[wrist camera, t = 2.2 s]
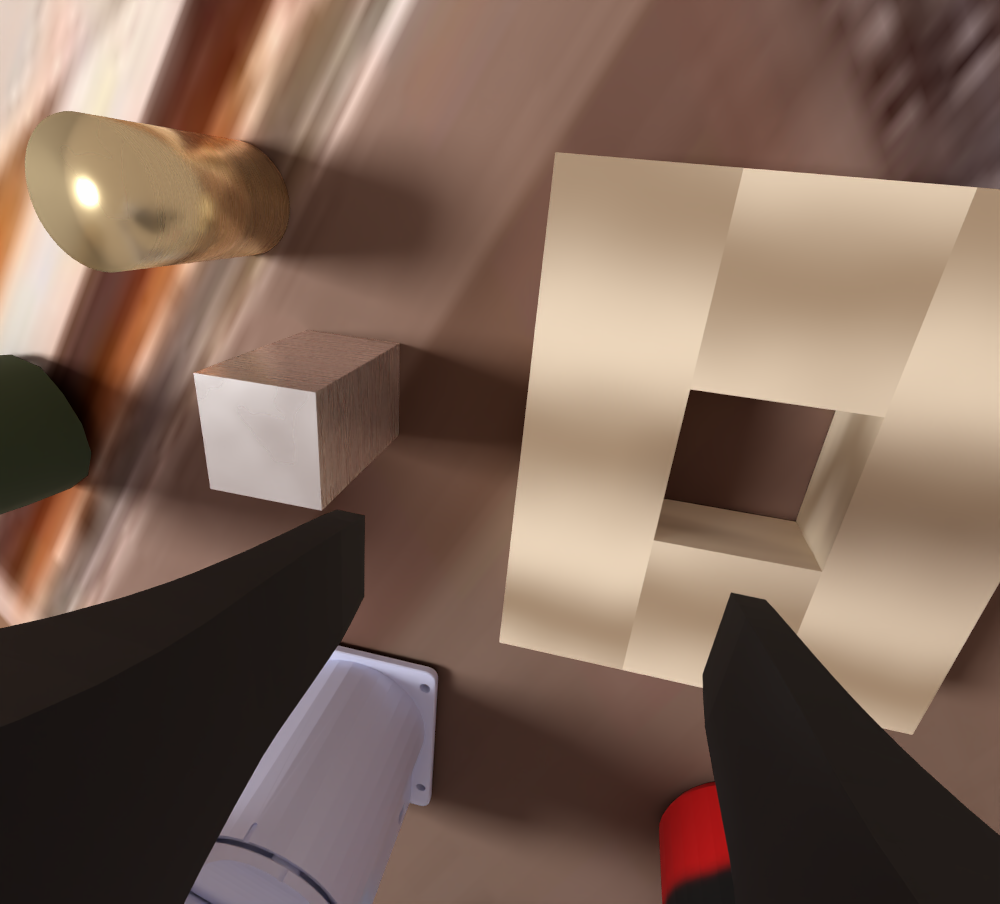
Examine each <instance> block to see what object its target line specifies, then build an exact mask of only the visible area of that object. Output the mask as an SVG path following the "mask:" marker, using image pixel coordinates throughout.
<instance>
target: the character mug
mask: <svg viewBox="0 0 1000 904" xmlns="http://www.w3.org/2000/svg"><path fill="white" fill-rule="evenodd" d="M90 459H91V450H90V447H89V444H88V441H87V438H86V435H85V432H84V429H83V426H82V423H81V422H80V420H79V419H78V417H77V415H76V414H75V412H74V411H73V409H72V407H71V406H70V404H69V403H68V401H67V400H66V398H65V396H64V395H63V393H62V392H61V391H60V390H59V388H58V387H57V386H56V385H55V384H54V383H53V381H52V380H51V379H50V378H49V377H48V375H47V374H46V373H45V372H44V371H43V369H42V368H41V367H39V366H37V365H34V364H32V363H30V362H27V361H25V360H23V359H20V358H18V357H16V356H13V355H0V514H3V513H6V512H9V511H12V510H15V509H18V508H21V507H24V506H26V505H29V504H32V503H34V502H37V501H39V500H42V499H44V498H47V497H49V496H52V495H55V494H57V493H60V492H62V491H65V490H67V489H70V488H72V487H73V486H74V485H76V484H77V483H78V482H80V481H81V480H82V479H84V478H85V477H86V476H88V471H89V465H90Z"/></svg>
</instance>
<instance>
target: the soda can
mask: <svg viewBox="0 0 1000 904" xmlns="http://www.w3.org/2000/svg"><path fill="white" fill-rule="evenodd" d="M659 843H660V864H661V885H662V904H735V894H734V886H733V879H732V873H731V866H730V859H729V854H728V848H727V843H726V838H725V832H724V827H723V822H722V816H721V811H720V806H719V800H718V795H717V790H716V785H715V782H710V783H706V784H702V785H699V786H696V787H694V788H692V789H690V790H688V791H686V792H684V793H683V794H681V795H680V796H679V797H678V798H677V799H675V800H674V801H673V802H672V803H671V804H670V805H669V807H668V808H667V809H666V811H665V812H664V814H663V815H662V818H661V821H660V824H659Z"/></svg>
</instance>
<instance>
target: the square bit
mask: <svg viewBox="0 0 1000 904" xmlns="http://www.w3.org/2000/svg"><path fill="white" fill-rule="evenodd" d="M399 368H400V343H395V342H389V341H382V340H375V339H368V338H361V337H354V336H347V335H340V334H333V333H326V332H319V331H312V330H306V331H303V332H301V333H298V334H295V335H293V336H290V337H287V338H285V339H282V340H279V341H277V342H274V343H271V344H269V345H266V346H263V347H261V348H258V349H255V350H253V351H250V352H247V353H245V354H242V355H240V356H237V357H234V358H232V359H229V360H226V361H224V362H221V363H218V364H216V365H213V366H210V367H208V368H205V369H202V370H200V371H197V372H194V380H195V387H196V393H197V400H198V407H199V414H200V421H201V427H202V434H203V441H204V448H205V455H206V462H207V468H208V475H209V482H210V489H214V490H219V491H224V492H229V493H234V494H239V495H245V496H250V497H255V498H260V499H265V500H270V501H275V502H280V503H285V504H290V505H295V506H301V507H306V508H311V509H316V510H321V511H322V510H323V509H324V508H325V507H326V506H327V505H328V504H329V503H330V502H331V501H332V500H333V499H334V498H335V497H336V496H337V495H338V494H339V493H340V492H341V491H342V490H343V489H344V488H345V487H346V486H347V485H348V484H349V483H350V482H351V481H352V480H353V479H354V478H355V477H357V476H358V475H359V474H360V473H361V472H362V471H363V470H364V469H365V468H366V467H367V466H368V465H369V464H370V463H371V462H372V461H373V460H374V459H375V458H376V457H377V456H378V455H379V454H380V453H381V452H382V451H383V450H384V449H385V448H386V447H387V446H388V445H389V444H390V443H391V442H392V441H393V440H394V439H395V438H396V437H397V436H398V435H399Z"/></svg>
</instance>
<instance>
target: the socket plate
mask: <svg viewBox="0 0 1000 904" xmlns="http://www.w3.org/2000/svg"><path fill="white" fill-rule="evenodd" d="M690 389H691V390H698V391H705V392H712V393H719V394H726V395H733V396H740V397H747V398H754V399H761V400H767V401H774V402H781V403H788V404H795V405H802V406H809V407H816V408H823V409H830V410H836V412H835V414H834V417H833V420H832V423H831V425H830V428H829V431H828V434H827V436H826V439H825V442H824V445H823V447H822V450H821V453H820V456H819V458H818V461H817V464H816V467H815V469H814V472H813V475H812V478H811V480H810V483H809V486H808V489H807V491H806V494H805V497H804V500H803V503H802V505H801V508H800V511H799V514H798V516H797V519H796V522H795V521H789V520H783V519H778V518H772V517H766V516H760V515H755V514H749V513H743V512H738V511H732V510H726V509H720V508H715V507H709V506H703V505H698V504H692V503H686V502H680V501H675V500H669V499H664V495H665V491H666V487H667V483H668V479H669V474H670V470H671V466H672V462H673V458H674V454H675V450H676V446H677V441H678V437H679V433H680V429H681V425H682V421H683V417H684V412H685V408H686V404H687V400H688V396H689V392H690ZM999 582H1000V189H989V188H977V187H965V186H953V185H941V184H929V183H917V182H905V181H893V180H881V179H869V178H857V177H845V176H833V175H821V174H809V173H797V172H785V171H773V170H761V169H749V168H737V167H725V166H713V165H701V164H689V163H677V162H665V161H653V160H641V159H629V158H617V157H605V156H593V155H581V154H569V153H557V152H555V160H554V169H553V178H552V187H551V195H550V204H549V213H548V221H547V230H546V239H545V248H544V256H543V265H542V274H541V282H540V291H539V300H538V309H537V317H536V326H535V335H534V344H533V352H532V361H531V370H530V378H529V387H528V396H527V405H526V413H525V422H524V431H523V439H522V448H521V457H520V466H519V474H518V483H517V492H516V501H515V509H514V518H513V527H512V535H511V544H510V553H509V562H508V570H507V579H506V588H505V596H504V605H503V614H502V623H501V631H500V640H499V642H500V643H505V644H509V645H514V646H518V647H523V648H527V649H532V650H536V651H541V652H545V653H550V654H554V655H558V656H563V657H567V658H572V659H576V660H581V661H585V662H590V663H594V664H599V665H603V666H608V667H612V668H616V669H621V670H625V671H630V672H634V673H639V674H643V675H648V676H652V677H657V678H661V679H666V680H670V681H674V682H679V683H683V684H688V685H692V686H697V687H701V688H703V679H702V674H703V671H704V668H705V666H706V663H707V660H708V657H709V654H710V651H711V648H712V645H713V643H714V640H715V637H716V634H717V631H718V628H719V625H720V622H721V620H722V617H723V614H724V611H725V608H726V605H727V602H728V599H729V597H730V594H731V592H732V593H737V594H741V595H746V596H751V597H756V598H760V599H765V600H766V601H767V602H768V603H769V604H770V605H771V606H772V607H773V608H774V609H775V610H776V611H777V613H778V614H779V615H780V616H781V617H782V618H783V619H784V621H785V622H786V623H787V624H788V625H789V626H790V627H791V629H792V630H793V631H794V632H795V633H796V634H797V636H798V637H799V638H800V639H801V640H802V641H803V643H804V644H805V645H806V646H807V647H808V648H809V650H810V651H811V652H812V653H813V654H814V655H815V656H816V658H817V659H818V660H819V661H820V662H821V663H822V664H823V666H824V667H825V668H826V669H827V670H828V671H829V672H830V673H831V674H832V676H833V677H834V678H835V679H836V680H837V681H838V682H839V683H840V684H841V686H842V687H843V688H844V689H845V690H846V691H847V692H848V693H849V694H850V695H851V696H852V698H853V699H854V700H855V701H856V702H857V703H858V704H859V705H860V706H861V707H862V708H863V709H864V710H865V711H866V712H867V713H868V714H869V715H870V716H871V717H872V718H873V719H874V720H875V721H876V723H877V724H878V725H879V726H880V727H881V728H884V729H889V730H893V731H898V732H902V733H907V734H911V735H913V733H914V731H915V729H916V728H917V726H918V724H919V722H920V721H921V719H922V717H923V715H924V714H925V712H926V710H927V708H928V707H929V705H930V703H931V701H932V700H933V698H934V696H935V694H936V693H937V691H938V689H939V687H940V686H941V684H942V682H943V680H944V679H945V677H946V675H947V673H948V672H949V670H950V668H951V666H952V665H953V663H954V661H955V659H956V658H957V656H958V654H959V652H960V651H961V649H962V647H963V645H964V644H965V642H966V640H967V638H968V637H969V635H970V633H971V631H972V630H973V628H974V626H975V624H976V623H977V621H978V619H979V617H980V616H981V614H982V612H983V610H984V609H985V607H986V605H987V603H988V602H989V600H990V598H991V596H992V595H993V593H994V591H995V589H996V588H997V586H998V584H999Z"/></svg>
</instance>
